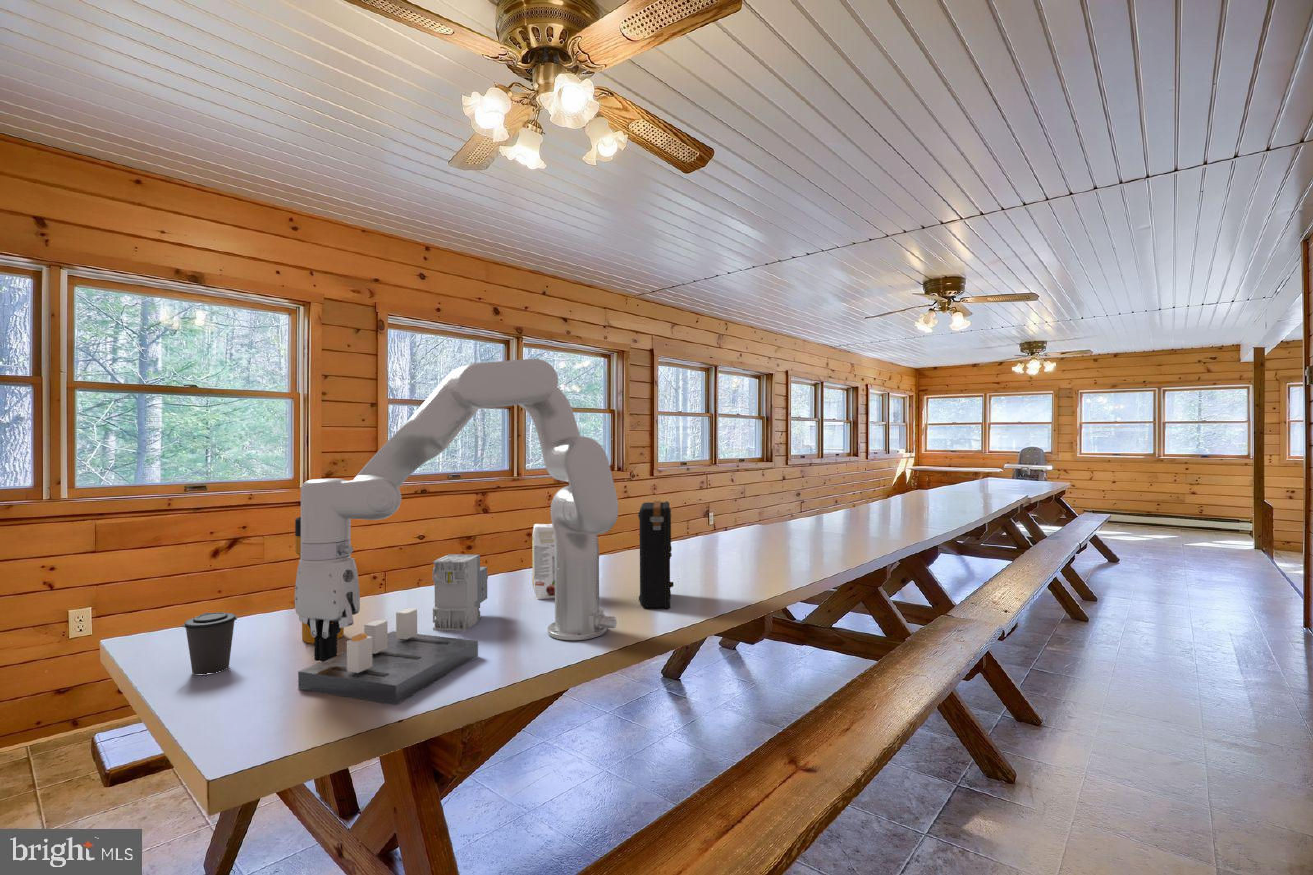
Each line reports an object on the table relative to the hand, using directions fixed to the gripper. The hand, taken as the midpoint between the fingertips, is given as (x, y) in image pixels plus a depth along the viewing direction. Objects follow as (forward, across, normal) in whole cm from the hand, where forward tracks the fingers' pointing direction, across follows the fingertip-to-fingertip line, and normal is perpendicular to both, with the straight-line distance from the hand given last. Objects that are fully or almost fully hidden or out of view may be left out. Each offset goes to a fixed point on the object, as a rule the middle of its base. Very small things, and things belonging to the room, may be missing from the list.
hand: (325, 658), depth 103 cm
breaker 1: (+1, -3, -8) cm, 9 cm away
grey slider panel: (+4, -7, -8) cm, 12 cm away
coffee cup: (+5, +26, +1) cm, 26 cm away
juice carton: (+4, -9, -63) cm, 64 cm away
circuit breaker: (+4, 0, -38) cm, 38 cm away
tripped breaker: (+1, -7, 0) cm, 7 cm away
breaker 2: (+1, -3, -16) cm, 16 cm away
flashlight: (+5, +21, -19) cm, 29 cm away
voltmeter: (+4, -38, -66) cm, 76 cm away
